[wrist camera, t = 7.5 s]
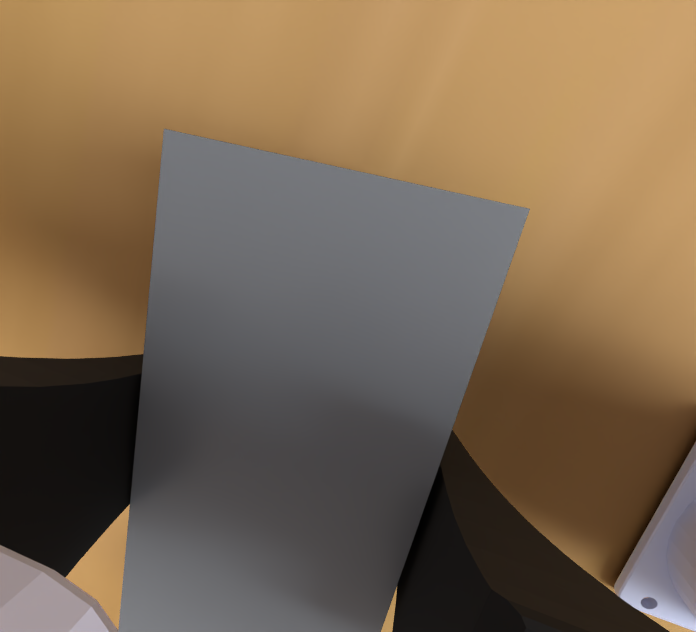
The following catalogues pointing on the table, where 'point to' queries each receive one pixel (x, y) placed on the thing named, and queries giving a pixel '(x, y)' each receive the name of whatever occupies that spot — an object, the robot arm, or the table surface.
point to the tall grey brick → (297, 385)
